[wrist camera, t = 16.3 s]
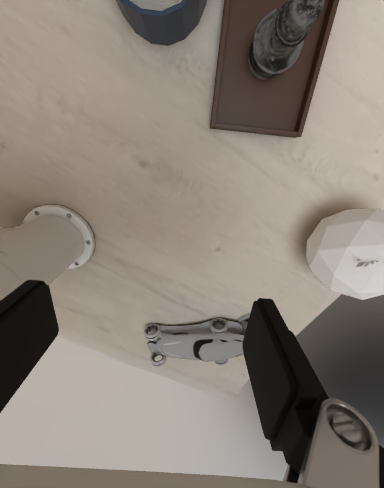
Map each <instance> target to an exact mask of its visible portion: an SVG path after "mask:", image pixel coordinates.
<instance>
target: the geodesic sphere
mask: <svg viewBox="0 0 384 488" xmlns="http://www.w3.org/2000/svg"><path fill="white" fill-rule="evenodd" d="M306 258H307V261H308V264H309V267H310V269H311V271H312V273H313V275H314V277H315V278H316V279H317V280H318V281H320V282H321V283H322V284H323V285H324V286H326V287H327V288H328V289H329V290H331V291H334V292H338V293H341V294H345V295H348V296H352V297H355V298H358V299H361V300H364V299H368V298H372V297H376V296H380V295H383V294H384V211H383V210H381V209H349V210H345V211H342V212H339V213H337V214H334V215H331V216H329V217H326V218H324V219H322V220H321V221H320V223H319V224H318V225H317V227H316V228H315V230H314V231H313V233H312V234H311V236H310V237H309V238H308V240H307V248H306Z"/></svg>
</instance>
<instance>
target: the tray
mask: <svg viewBox="0 0 384 488" xmlns="http://www.w3.org/2000/svg"><path fill="white" fill-rule="evenodd" d="M287 1H289V0H225V1H224V10H223V18H222V27H221V36H220V44H219V53H218V62H217V71H216V79H215V88H214V97H213V105H212V114H211V123H210V128H212V129H221V130H230V131H239V132H248V133H258V134H267V135H276V136H285V137H294V138H295V137H301V135H302V132H303V128H304V125H305V121H306V117H307V114H308V110H309V107H310V103H311V100H312V96H313V92H314V89H315V85H316V82H317V78H318V74H319V71H320V67H321V64H322V60H323V57H324V53H325V49H326V46H327V42H328V39H329V35H330V31H331V28H332V24H333V21H334V17H335V14H336V10H337V6H338V3H339V0H324V6H323V9H322V12H321V14H320V16H319V18H318V19H317V20H316V22H315V23H314V24H313V25H312V26H311V27H310V29H309V32H308V34H307V36H306V37H305V39H304V43H303V46H302V50H301V53H300V55H299V56H298V58H297V60H296V61H295V62H294V64H293V65H292V66H291V67H290V68H288V69H287V70H286V71H284V72H281V73H279V74H278V75H277V76H276V77H274V78H272V79H269V80H262V79H259V78H257V77H256V76H255V75H254V74H253V73H252V71H251V69H250V67H249V62H248V54H249V49H250V46H251V44H252V41H253V39H254V34H255V32H256V29H257V27H258V25H259V23H260V22H261V20H262V19H263V17H265V16H266V15H267V14H268V13H269V12H270V11H272V10H274V9H276V8H281V7H282V6H283V5H284V4H285V3H286V2H287Z"/></svg>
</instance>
